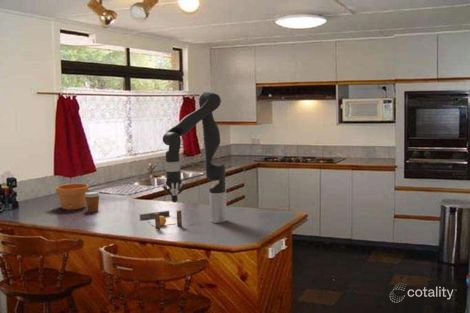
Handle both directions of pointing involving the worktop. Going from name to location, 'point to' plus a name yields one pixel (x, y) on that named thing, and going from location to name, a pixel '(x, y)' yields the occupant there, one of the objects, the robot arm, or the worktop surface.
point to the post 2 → (179, 218)
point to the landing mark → (169, 222)
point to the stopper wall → (153, 214)
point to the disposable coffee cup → (92, 200)
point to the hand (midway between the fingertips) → (174, 202)
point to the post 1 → (157, 221)
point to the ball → (162, 220)
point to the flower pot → (72, 195)
